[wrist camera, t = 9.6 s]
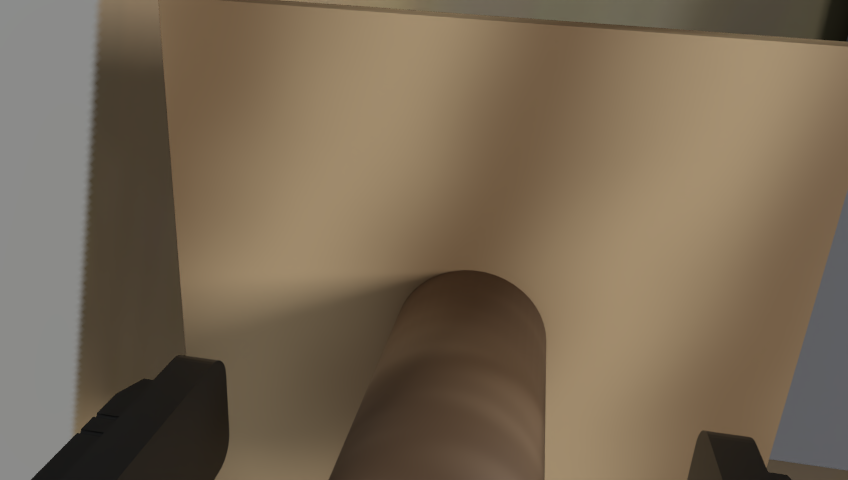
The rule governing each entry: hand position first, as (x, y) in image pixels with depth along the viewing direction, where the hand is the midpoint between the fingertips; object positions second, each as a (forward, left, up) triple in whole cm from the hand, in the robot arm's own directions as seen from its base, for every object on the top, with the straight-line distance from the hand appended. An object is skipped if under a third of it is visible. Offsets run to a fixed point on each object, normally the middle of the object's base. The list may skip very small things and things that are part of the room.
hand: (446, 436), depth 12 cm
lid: (0, 0, -4) cm, 4 cm away
